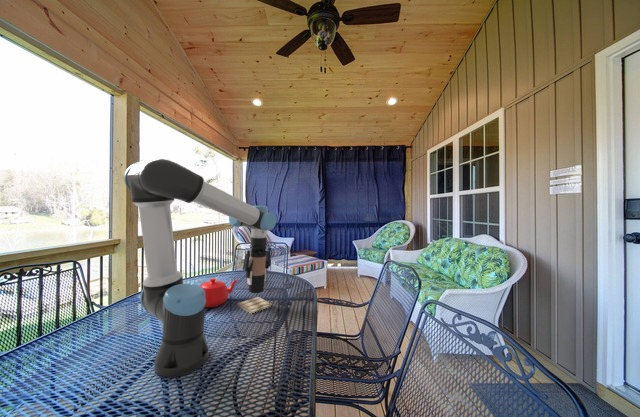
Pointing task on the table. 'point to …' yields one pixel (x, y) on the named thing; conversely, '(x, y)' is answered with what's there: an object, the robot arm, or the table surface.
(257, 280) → the travel mug
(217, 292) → the teapot
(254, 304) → the trivet
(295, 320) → the table surface
